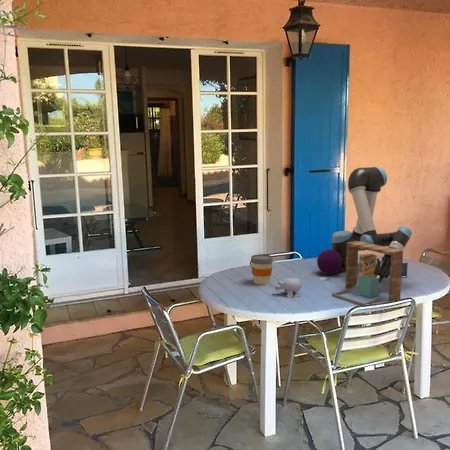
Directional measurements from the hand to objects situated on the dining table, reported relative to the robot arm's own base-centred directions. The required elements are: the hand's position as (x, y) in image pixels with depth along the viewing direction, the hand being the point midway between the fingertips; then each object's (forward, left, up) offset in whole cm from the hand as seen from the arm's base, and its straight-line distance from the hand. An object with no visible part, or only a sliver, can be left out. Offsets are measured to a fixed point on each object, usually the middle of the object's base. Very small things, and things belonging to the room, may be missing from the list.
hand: (374, 286), depth 262 cm
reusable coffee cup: (-51, -34, -4) cm, 62 cm away
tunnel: (0, -1, -3) cm, 4 cm away
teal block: (0, -5, -3) cm, 6 cm away
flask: (-8, +36, -4) cm, 37 cm away
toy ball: (-38, +9, -4) cm, 39 cm away
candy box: (-15, +15, -4) cm, 21 cm away
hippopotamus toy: (-27, -37, -4) cm, 46 cm away
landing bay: (0, -14, -3) cm, 15 cm away
